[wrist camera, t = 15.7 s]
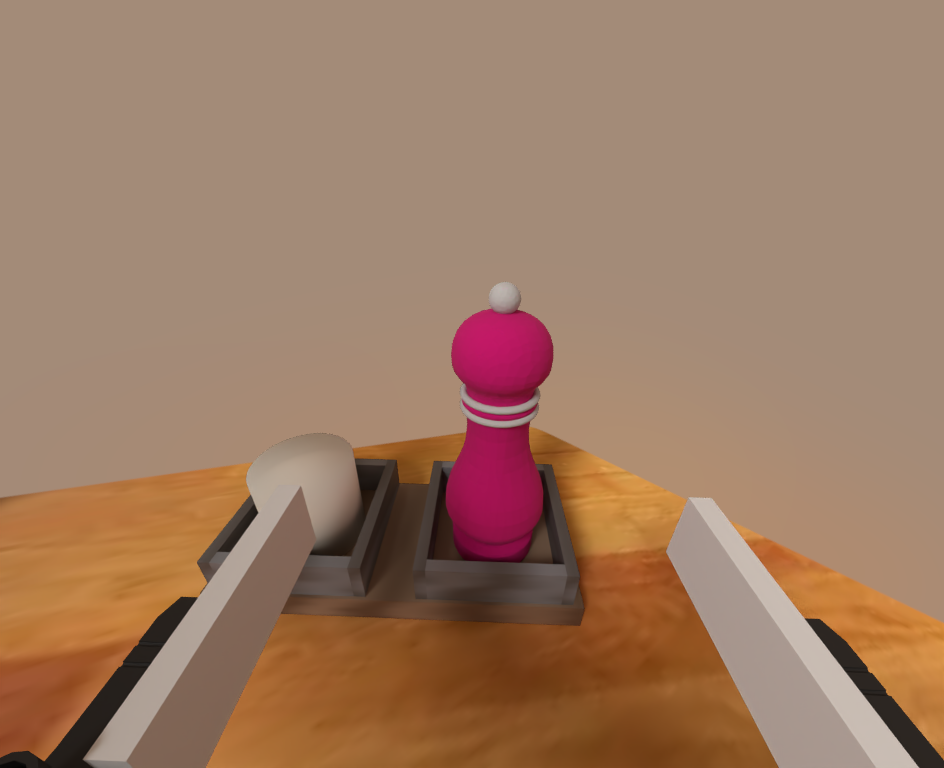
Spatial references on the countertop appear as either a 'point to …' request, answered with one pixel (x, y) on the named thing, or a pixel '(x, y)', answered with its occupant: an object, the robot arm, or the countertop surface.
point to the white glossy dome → (315, 486)
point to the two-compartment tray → (427, 560)
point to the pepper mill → (498, 429)
